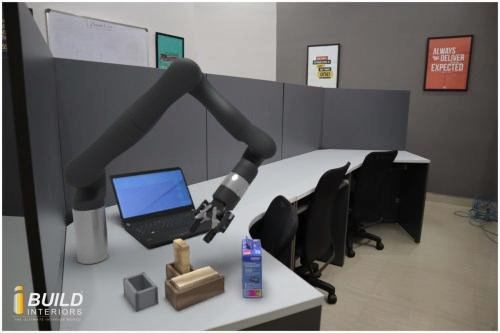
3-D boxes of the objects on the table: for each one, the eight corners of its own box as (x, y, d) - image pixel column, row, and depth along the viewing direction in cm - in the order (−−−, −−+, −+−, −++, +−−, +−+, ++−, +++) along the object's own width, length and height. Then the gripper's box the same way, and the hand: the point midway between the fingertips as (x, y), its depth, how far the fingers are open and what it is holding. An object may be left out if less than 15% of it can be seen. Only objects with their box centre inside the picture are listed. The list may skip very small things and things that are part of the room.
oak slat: (174, 279, 96) (173, 240, 93) (181, 277, 97) (180, 238, 94) (183, 288, 91) (182, 247, 89) (190, 285, 93) (189, 245, 90)
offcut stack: (170, 298, 87) (169, 279, 86) (209, 283, 94) (209, 265, 93) (179, 307, 83) (178, 287, 82) (219, 291, 90) (218, 273, 89)
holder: (124, 294, 88) (123, 278, 87) (145, 287, 92) (144, 272, 91) (136, 311, 81) (135, 294, 80) (158, 303, 85) (157, 286, 84)
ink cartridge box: (241, 278, 97) (241, 230, 94) (260, 277, 97) (261, 230, 94) (241, 298, 87) (242, 246, 84) (262, 298, 87) (264, 246, 84)
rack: (152, 283, 94) (151, 268, 93) (196, 268, 102) (195, 255, 101) (177, 311, 82) (177, 294, 81) (224, 292, 90) (224, 276, 89)
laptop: (148, 251, 114) (145, 196, 110) (111, 220, 142) (108, 175, 138) (228, 228, 135) (228, 181, 131) (182, 204, 163) (181, 165, 159)
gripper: (210, 178, 103) (177, 222, 98) (238, 189, 92) (202, 238, 87) (225, 192, 107) (193, 235, 102) (252, 204, 96) (219, 252, 91)
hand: (197, 236), depth 95 cm, fingers open, 8 cm apart
